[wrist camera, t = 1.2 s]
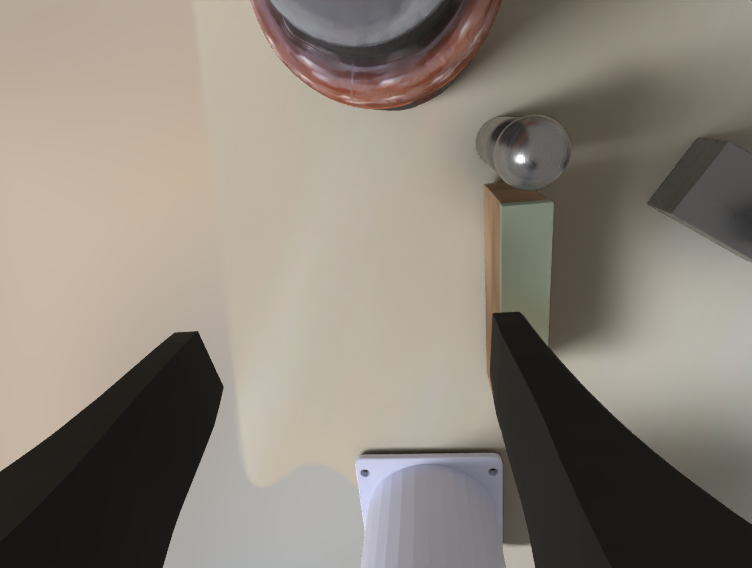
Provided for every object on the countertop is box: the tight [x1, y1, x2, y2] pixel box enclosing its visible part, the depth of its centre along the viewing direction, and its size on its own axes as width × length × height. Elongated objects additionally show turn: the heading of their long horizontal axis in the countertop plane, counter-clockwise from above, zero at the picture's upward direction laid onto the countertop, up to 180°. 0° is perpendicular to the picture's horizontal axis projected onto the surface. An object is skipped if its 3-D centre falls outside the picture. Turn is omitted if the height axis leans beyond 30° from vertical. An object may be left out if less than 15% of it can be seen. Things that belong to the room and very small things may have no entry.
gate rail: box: [484, 182, 554, 438], centre depth 18 cm, size 10×2×5 cm, turn 6°
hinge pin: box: [476, 115, 571, 191], centre depth 16 cm, size 2×2×7 cm
